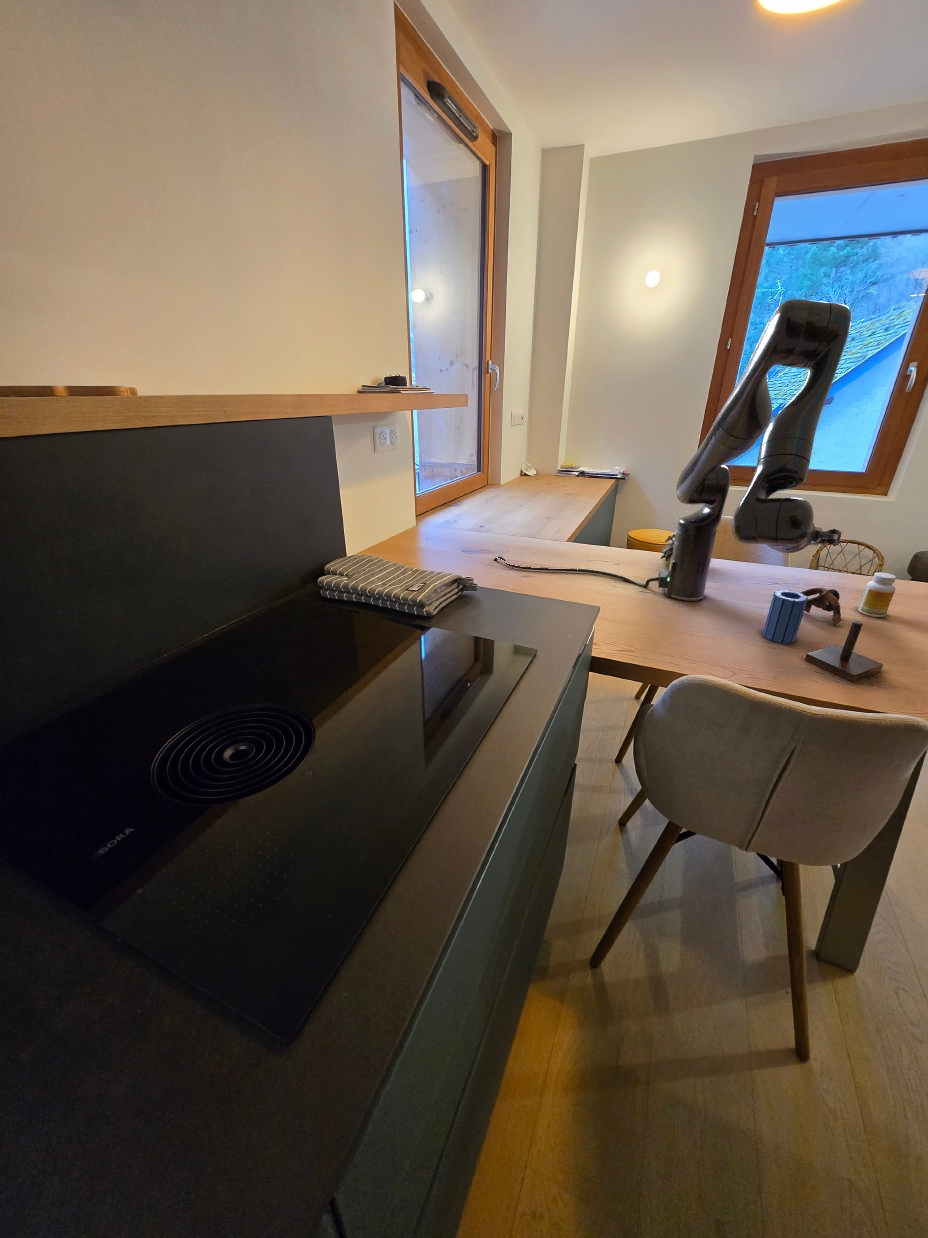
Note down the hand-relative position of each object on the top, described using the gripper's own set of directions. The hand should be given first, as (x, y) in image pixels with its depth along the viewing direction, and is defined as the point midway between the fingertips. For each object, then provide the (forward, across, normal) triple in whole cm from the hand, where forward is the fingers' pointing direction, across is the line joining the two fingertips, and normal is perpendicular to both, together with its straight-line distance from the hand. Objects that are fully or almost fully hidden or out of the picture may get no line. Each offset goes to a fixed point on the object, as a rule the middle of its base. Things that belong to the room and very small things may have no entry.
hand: (798, 537), depth 101 cm
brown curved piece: (+22, -4, +17) cm, 28 cm away
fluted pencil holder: (+6, 0, +21) cm, 22 cm away
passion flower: (+38, +34, +9) cm, 52 cm away
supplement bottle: (+33, -14, +15) cm, 38 cm away
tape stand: (+1, -12, +24) cm, 27 cm away
